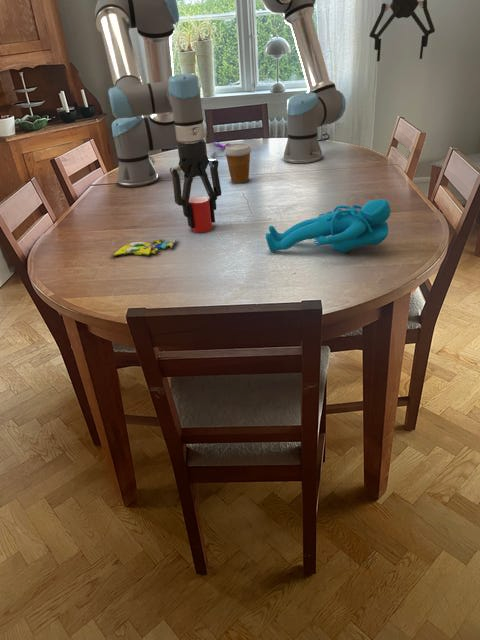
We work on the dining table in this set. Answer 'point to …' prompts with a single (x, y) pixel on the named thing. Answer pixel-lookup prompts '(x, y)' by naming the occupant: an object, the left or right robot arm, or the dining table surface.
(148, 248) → the toy
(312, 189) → the dining table surface
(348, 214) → the toy
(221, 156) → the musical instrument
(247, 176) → the disposable coffee cup
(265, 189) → the dining table surface
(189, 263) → the dining table surface
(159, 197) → the dining table surface
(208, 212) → the can
